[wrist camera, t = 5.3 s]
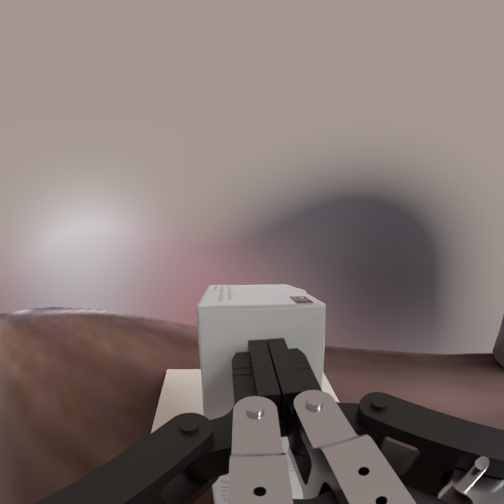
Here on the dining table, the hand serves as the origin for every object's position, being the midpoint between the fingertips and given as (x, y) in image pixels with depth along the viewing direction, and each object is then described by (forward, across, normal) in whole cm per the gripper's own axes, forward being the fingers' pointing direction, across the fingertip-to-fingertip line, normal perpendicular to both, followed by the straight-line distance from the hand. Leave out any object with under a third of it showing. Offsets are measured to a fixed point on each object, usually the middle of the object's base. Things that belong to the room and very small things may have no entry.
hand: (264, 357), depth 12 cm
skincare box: (+1, 0, +13) cm, 13 cm away
